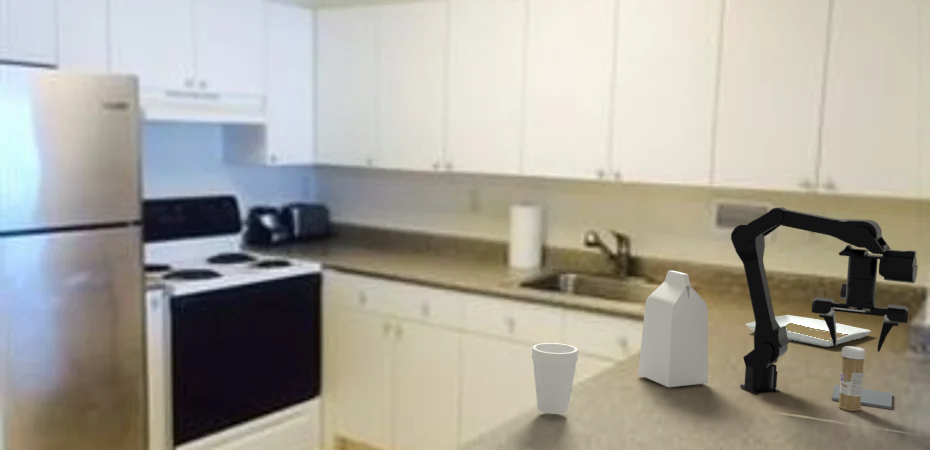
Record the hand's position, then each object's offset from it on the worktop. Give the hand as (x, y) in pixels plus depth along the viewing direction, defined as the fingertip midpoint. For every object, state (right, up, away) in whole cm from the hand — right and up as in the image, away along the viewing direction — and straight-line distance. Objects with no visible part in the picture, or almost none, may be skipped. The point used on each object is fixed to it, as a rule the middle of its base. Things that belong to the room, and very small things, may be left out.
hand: (856, 348), depth 180 cm
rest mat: (+5, -13, +8) cm, 16 cm away
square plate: (+19, -8, +71) cm, 74 cm away
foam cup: (-67, -12, -7) cm, 68 cm away
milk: (-35, -10, +20) cm, 42 cm away
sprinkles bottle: (-2, -13, 0) cm, 13 cm away
